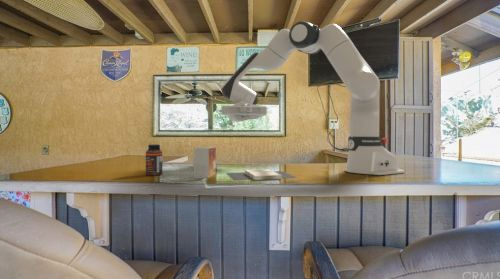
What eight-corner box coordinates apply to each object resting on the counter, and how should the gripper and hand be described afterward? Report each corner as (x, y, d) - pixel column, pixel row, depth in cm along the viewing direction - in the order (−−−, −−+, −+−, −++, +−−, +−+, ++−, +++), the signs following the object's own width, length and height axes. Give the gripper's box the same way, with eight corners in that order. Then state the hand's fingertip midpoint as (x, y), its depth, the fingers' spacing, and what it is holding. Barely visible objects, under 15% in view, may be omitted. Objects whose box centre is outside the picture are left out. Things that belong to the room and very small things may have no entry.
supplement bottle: (142, 175, 103) (141, 144, 102) (152, 173, 108) (152, 144, 108) (156, 176, 101) (155, 145, 101) (165, 174, 107) (165, 144, 106)
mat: (281, 172, 111) (281, 171, 111) (297, 179, 95) (297, 177, 95) (225, 174, 105) (225, 173, 105) (233, 182, 90) (233, 180, 90)
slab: (268, 169, 105) (281, 175, 92) (268, 173, 105) (281, 179, 92) (245, 170, 103) (255, 176, 89) (245, 174, 103) (255, 180, 89)
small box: (208, 179, 95) (208, 148, 95) (193, 178, 96) (193, 148, 96) (216, 175, 103) (216, 147, 102) (201, 175, 104) (201, 146, 104)
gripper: (218, 104, 128) (223, 101, 114) (261, 105, 133) (270, 102, 119) (218, 118, 128) (223, 116, 115) (261, 118, 133) (271, 117, 120)
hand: (248, 109), depth 117 cm, fingers closed
